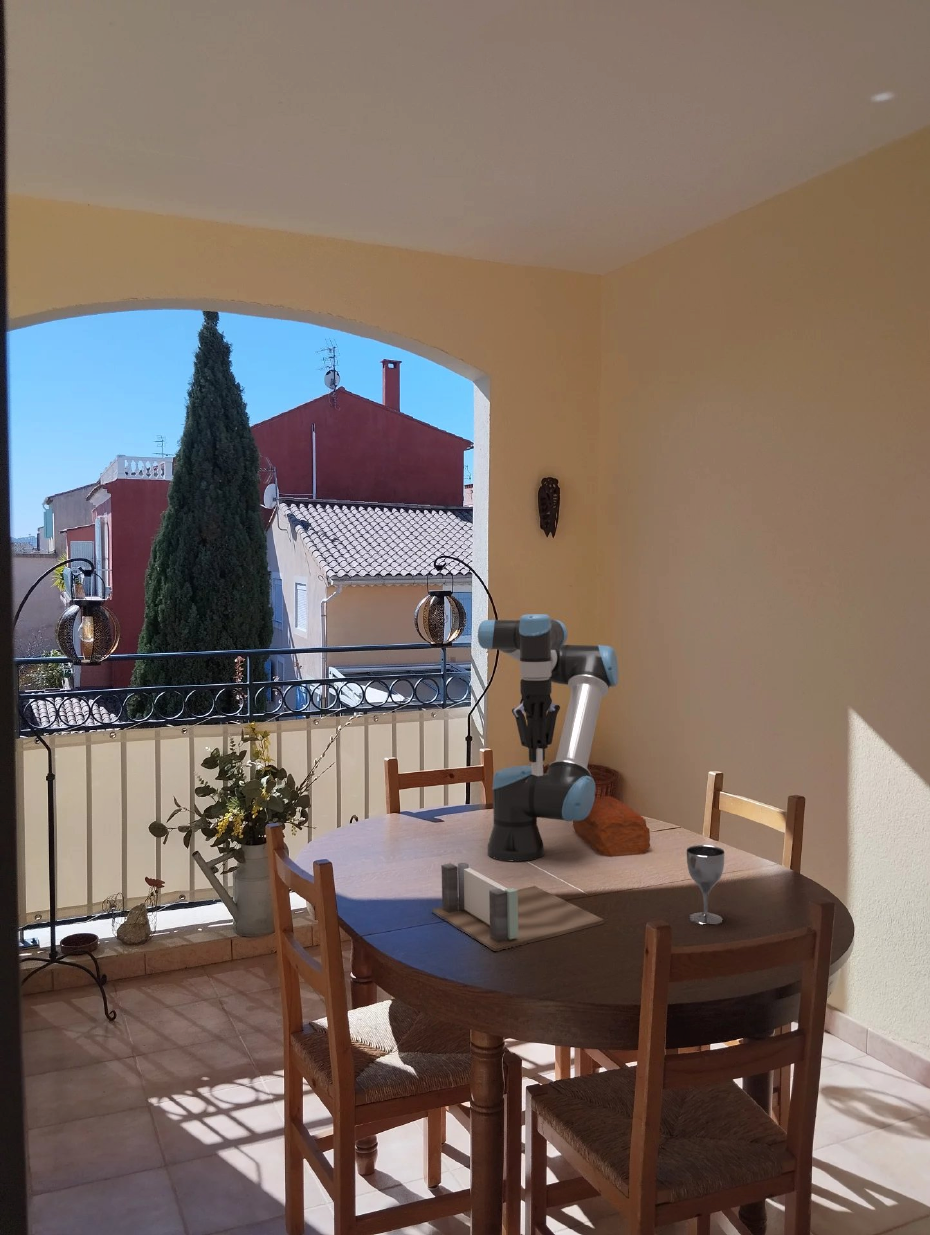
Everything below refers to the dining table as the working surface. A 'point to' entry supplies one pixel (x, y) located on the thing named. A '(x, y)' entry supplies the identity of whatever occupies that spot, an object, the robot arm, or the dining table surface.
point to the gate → (484, 897)
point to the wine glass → (705, 876)
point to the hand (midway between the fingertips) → (537, 774)
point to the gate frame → (535, 915)
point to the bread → (614, 828)
